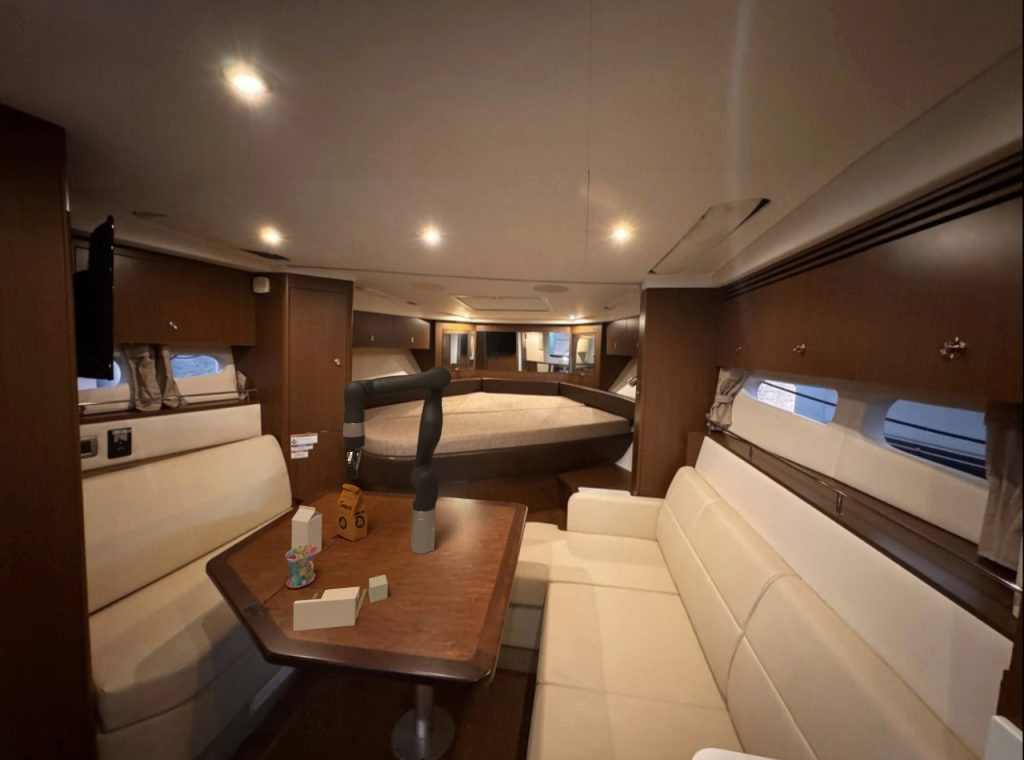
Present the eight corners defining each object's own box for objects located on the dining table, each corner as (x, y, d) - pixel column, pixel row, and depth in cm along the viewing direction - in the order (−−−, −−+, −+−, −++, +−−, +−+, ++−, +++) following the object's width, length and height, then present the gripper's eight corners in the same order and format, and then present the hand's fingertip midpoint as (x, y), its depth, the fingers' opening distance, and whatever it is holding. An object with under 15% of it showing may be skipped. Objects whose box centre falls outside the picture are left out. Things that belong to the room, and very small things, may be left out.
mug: (279, 584, 112) (279, 553, 111) (308, 570, 120) (308, 541, 119) (297, 598, 106) (297, 566, 105) (326, 582, 114) (327, 552, 113)
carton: (359, 600, 106) (359, 586, 106) (353, 619, 99) (353, 604, 98) (325, 603, 104) (325, 589, 104) (315, 623, 96) (316, 608, 96)
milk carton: (307, 561, 125) (307, 511, 124) (291, 558, 127) (291, 509, 126) (321, 550, 132) (322, 504, 131) (306, 548, 133) (306, 501, 133)
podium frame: (366, 591, 110) (366, 588, 110) (355, 621, 97) (355, 618, 97) (314, 595, 107) (314, 592, 107) (295, 626, 95) (295, 624, 95)
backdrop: (355, 622, 97) (355, 596, 97) (354, 625, 96) (354, 598, 96) (295, 628, 94) (295, 600, 94) (293, 630, 93) (293, 603, 93)
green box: (384, 588, 112) (385, 574, 112) (387, 598, 108) (387, 583, 107) (368, 593, 109) (369, 578, 109) (370, 603, 105) (371, 587, 105)
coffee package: (349, 545, 137) (350, 492, 136) (333, 535, 144) (334, 485, 143) (371, 535, 145) (372, 486, 144) (354, 526, 152) (355, 479, 151)
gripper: (360, 437, 119) (359, 485, 120) (368, 430, 132) (368, 473, 133) (337, 438, 117) (337, 485, 118) (348, 430, 130) (348, 473, 131)
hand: (353, 479), depth 126 cm, fingers closed
